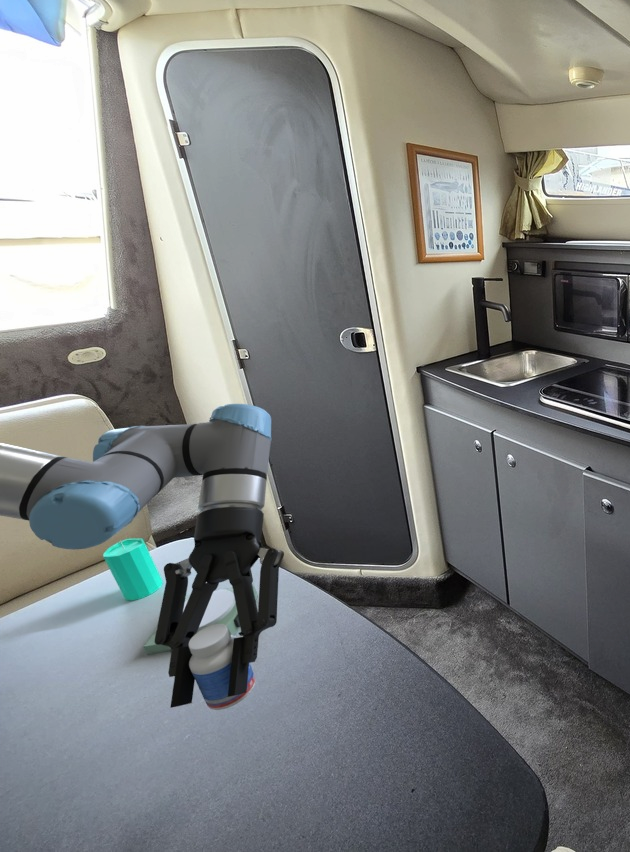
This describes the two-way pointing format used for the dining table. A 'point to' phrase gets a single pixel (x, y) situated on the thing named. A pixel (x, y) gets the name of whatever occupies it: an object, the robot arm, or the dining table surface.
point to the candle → (133, 568)
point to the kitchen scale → (210, 616)
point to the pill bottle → (215, 666)
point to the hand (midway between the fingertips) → (209, 699)
